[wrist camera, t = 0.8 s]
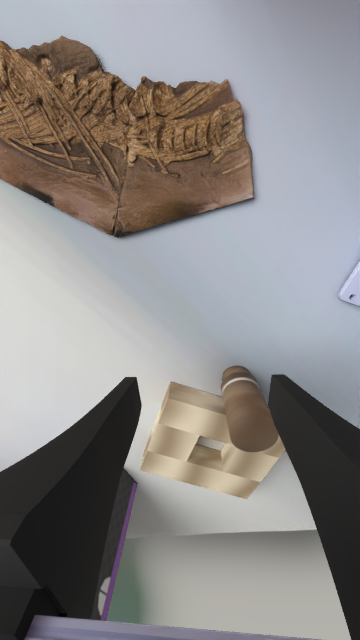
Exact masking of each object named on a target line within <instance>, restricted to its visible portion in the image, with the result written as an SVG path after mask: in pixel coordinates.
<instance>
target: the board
mask: <svg viewBox="0 0 360 640" xmlns="http://www.w3.org/2000/svg"><path fill="white" fill-rule="evenodd" d="M199 436H204V437H207V438H211V439H214V440H218V441H221V442H225V445H224V447H223V448H222V450H221V451H218V450H214V449H211V448H207V447H203V446H200V445H196V442H197V440H198V438H199ZM285 450H286V449H285V447H284V445H283V443H282V441H281V438H280V436H279V437H278V440H277V441H276V443H275V444H274V445H273V446H272V447H270V448H269V449H267V450H264V451H260V452H246V451H242V450H240V449H238V448H236V447H235V446H234V445H233V444H232V442H231V439H230V434H229V429H228V424H227V418H226V413H225V407H224V402H223V399H222V397H220V396H216V395H213V394H210V393H207V392H203V391H200V390H197V389H193V388H190V387H187V386H183V385H180V384H177V383H173V382H170V385H169V387H168V390H167V393H166V395H165V398H164V401H163V403H162V406H161V409H160V411H159V414H158V417H157V419H156V422H155V424H154V427H153V430H152V432H151V435H150V438H149V440H148V443H147V446H146V448H145V451H144V456H143V460H142V464H141V469H140V470H141V471H144V472H148V473H152V474H156V475H159V476H163V477H167V478H170V479H174V480H178V481H182V482H185V483H189V484H193V485H196V486H200V487H204V488H208V489H211V490H215V491H219V492H222V493H226V494H230V495H233V496H237V497H241V498H245V499H248V497H249V496H250V495H251V493H252V492H253V491H254V490H255V488H256V487H257V486H258V484H259V483H260V482H261V481H262V479H263V478H264V477H265V475H266V474H267V473H268V472H269V470H270V469H271V468H272V467H273V465H274V464H275V463H276V461H277V460H278V459H279V458H280V456H281V455H282V454H283V452H284V451H285Z"/></svg>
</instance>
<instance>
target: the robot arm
mask: <svg viewBox="0 0 360 640" xmlns="http://www.w3.org/2000/svg"><path fill="white" fill-rule="evenodd" d="M350 295H353V296H352V297H351V298H350V299H349V297H350ZM338 297H339V299H341V300H343V301H346V302H349V303H352V304H355V305H358V306H360V261H359V263H358V264H357V266H356V267H355V269H354V270H353V272H352V274H351V275H350V277H349V278H348V280H347V281H346V283H345V284H344V286H343V287H342V289H341V291H340V292H339V294H338ZM141 406H142V405H141V400H140V394H139V389H138V383H137V377H125V378H124V379H123V380H122V381H121V382H120V383H119V384H118V385H117V386H116V387H115V388H114V389H113V390H112V391H111V392H110V393H109V394H108V395H107V396H106V397H105V398H104V399H103V400H102V401H101V402H100V403H98V404H97V405H96V406H95V407H94V408H93V409H92V410H91V411H89V412H88V413H87V414H86V415H85V416H84V417H83V418H81V419H80V420H79V421H78V422H76V423H75V424H74V425H73V426H71V427H70V428H69V429H67V430H66V431H65V432H63V433H62V434H60V435H59V436H58V437H56V438H55V439H53V440H52V441H50V442H49V443H47V444H46V445H44V446H43V447H41V448H40V449H38V450H37V451H35V452H34V453H32V454H30V455H29V456H27V457H25V458H24V459H22V460H21V461H19V462H17V463H15V464H14V465H12V466H10V467H8V468H7V469H5V470H3V471H1V472H0V640H319V639H307V638H296V637H283V636H273V635H261V634H250V633H238V632H227V631H215V630H202V629H192V628H181V627H169V626H158V625H146V624H135V623H123V622H111V621H100V620H89V619H90V617H91V616H92V611H93V606H94V600H95V595H96V589H97V584H98V579H99V573H100V568H101V563H102V558H103V553H104V548H105V543H106V538H107V534H108V529H109V524H110V520H111V515H112V511H113V507H114V502H115V498H116V494H117V490H118V486H119V481H120V478H121V474H122V471H123V467H124V464H125V461H126V459H127V456H128V453H129V450H130V447H131V444H132V441H133V438H134V435H135V432H136V428H137V425H138V421H139V417H140V412H141ZM268 406H269V410H270V413H271V416H272V419H273V422H274V425H275V427H276V430H277V432H278V434H279V436H280V438H281V441H282V443H283V445H284V447H285V449H286V451H287V453H288V456H289V458H290V460H291V462H292V464H293V466H294V469H295V471H296V473H297V475H298V478H299V480H300V483H301V485H302V488H303V491H304V494H305V496H306V499H307V502H308V505H309V507H310V510H311V513H312V516H313V519H314V522H315V525H316V528H317V530H318V533H319V536H320V539H321V542H322V545H323V548H324V552H325V554H326V558H327V561H328V564H329V567H330V570H331V573H332V576H333V579H334V583H335V586H336V589H337V593H338V596H339V599H340V602H341V606H342V609H343V612H344V616H345V619H346V622H347V626H348V629H349V633H350V636H351V640H360V429H359V428H357V427H355V426H354V425H352V424H351V423H349V422H347V421H346V420H344V419H343V418H342V417H340V416H339V415H337V414H336V413H334V412H333V411H331V410H330V409H329V408H327V407H326V406H324V405H323V404H322V403H320V402H319V401H318V400H316V399H315V398H314V397H312V396H311V395H310V394H308V393H307V392H306V391H305V390H303V389H302V388H301V387H299V386H298V385H297V384H296V383H294V382H293V381H292V380H291V379H289V378H288V377H287V376H285V375H272V377H271V385H270V394H269V402H268Z"/></svg>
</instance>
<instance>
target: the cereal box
mask: <svg viewBox="0 0 360 640" xmlns="http://www.w3.org/2000/svg"><path fill="white" fill-rule="evenodd" d="M136 487H137V482H136V481H135V480H134V479H133V478H132V477H131V476H130V475H129V474H128V473H127V471H126V470H125V469H124V468H123V471H122V474H121V478H120V481H119V486H118V490H117V494H116V498H115V502H114V507H113V511H112V515H111V520H110V524H109V529H108V534H107V538H106V543H105V548H104V553H103V558H102V563H101V568H100V573H99V579H98V584H97V589H96V595H95V600H94V606H93V611H92V616H91V617H90V619H89V620H100V621H106V620H107V615H108V611H109V606H110V602H111V598H112V593H113V589H114V584H115V580H116V575H117V571H118V567H119V562H120V557H121V553H122V549H123V545H124V540H125V536H126V531H127V527H128V523H129V518H130V514H131V509H132V505H133V500H134V496H135V492H136Z"/></svg>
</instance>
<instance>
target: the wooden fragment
mask: <svg viewBox="0 0 360 640" xmlns="http://www.w3.org/2000/svg"><path fill="white" fill-rule="evenodd" d="M242 114H243V111H242V107H241V104H240V102H239V101H238V100H233V97H232V93H231V90H230V86H229V83H228V80H227V79H225V80H224V81H223V82H222V83H221V84H218V83H215V82H213V81H210V82H209V83H206V82H205V83H199V82H197V81H189V82H182V83H180V84H179V85H178V86H177V88H173V87H171V86H170V85H166V84H165V83H164V82H152V81H151V80H149V79H148V78H147V77H142V78H141V83H140V85H139V86H138V87H137V89H136V90H134V89H133V88H131V87H129V86H127V85H125V83H124V82H123V81H122V80H121V79H120V78H119V77H118V76H115V75H113V74H111V73H109V72H105V73H104V71H103V70H102V68H101V67H100V65H99V62H98V60H97V59H96V57H95V55H94V53H93V51H92V49H91V48H90V47H88V46H86V45H84V44H82V43H80V42H78V41H75V40H71V39H68V38H66V37H63V36H61V37H60V38H59V39H57V40H54V41H53V42H51V43H43V44H42V45H40V46H36V45H32V46H31V47H30V48H29V49H26V48H21V49H17V50H15V49H13V50H12V49H11V48H10V47H9V46H8V45H7V44H6V43H5V42H3V41H0V179H2V180H4V181H6V182H8V183H10V184H11V185H13V186H15V187H17V188H19V189H21V190H22V191H24V192H27V193H28V194H30V195H33V196H35V197H37V198H38V199H40V200H42V201H44V202H45V203H48V204H50V205H52V206H53V207H55V208H58V209H60V210H61V211H63V212H66V213H67V214H70V215H71V216H74V217H75V218H77V219H79V220H83V221H85V222H88V224H91V226H93V227H95V228H97V229H99V230H101V231H103V232H105V233H108V234H110V235H113V234H112V230H113V226H115V232H114V235H113V236H114V237H121V236H124V235H126V234H127V233H132V232H136V231H139V230H142V229H146V228H149V227H153V226H157V225H160V224H162V223H163V224H164V223H166V222H170V221H174V220H177V219H180V218H184V217H188V216H192V215H195V214H197V213H202V212H205V211H207V210H208V211H209V210H213V209H215V208H216V207H217V208H219V207H223V206H225V205H230V204H232V203H236V202H239V201H243V200H245V199H249V198H252V197H253V198H254V195H253V183H252V150H251V148H250V145H249V143H248V142H247V140H246V138H245V136H244V129H243V123H242V120H243V118H242Z"/></svg>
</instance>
